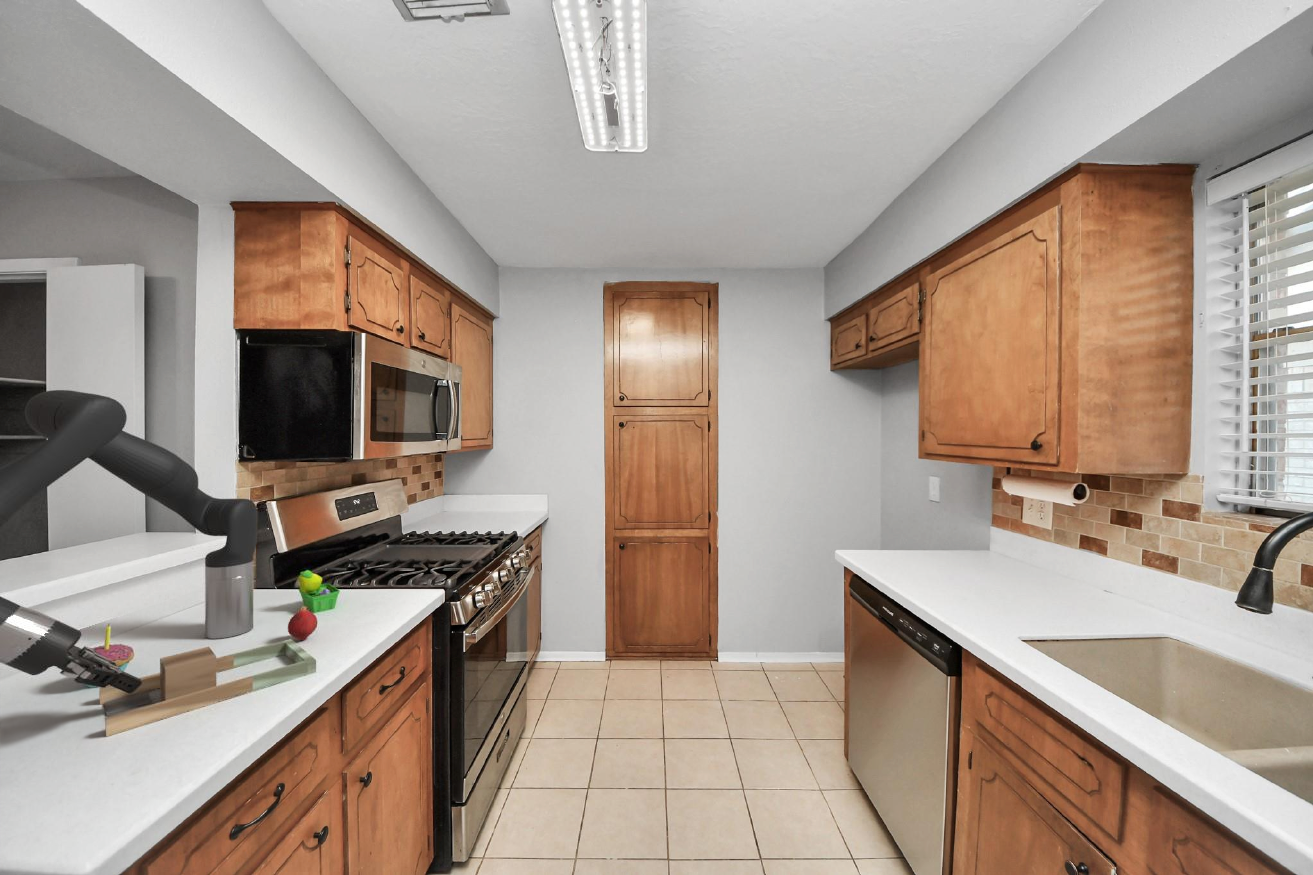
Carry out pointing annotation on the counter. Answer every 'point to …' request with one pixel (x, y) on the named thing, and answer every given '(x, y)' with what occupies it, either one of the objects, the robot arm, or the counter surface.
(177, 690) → the walnut block
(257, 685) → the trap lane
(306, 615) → the onion
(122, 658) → the cupcake
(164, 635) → the counter surface
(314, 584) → the fruit basket
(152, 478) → the robot arm
